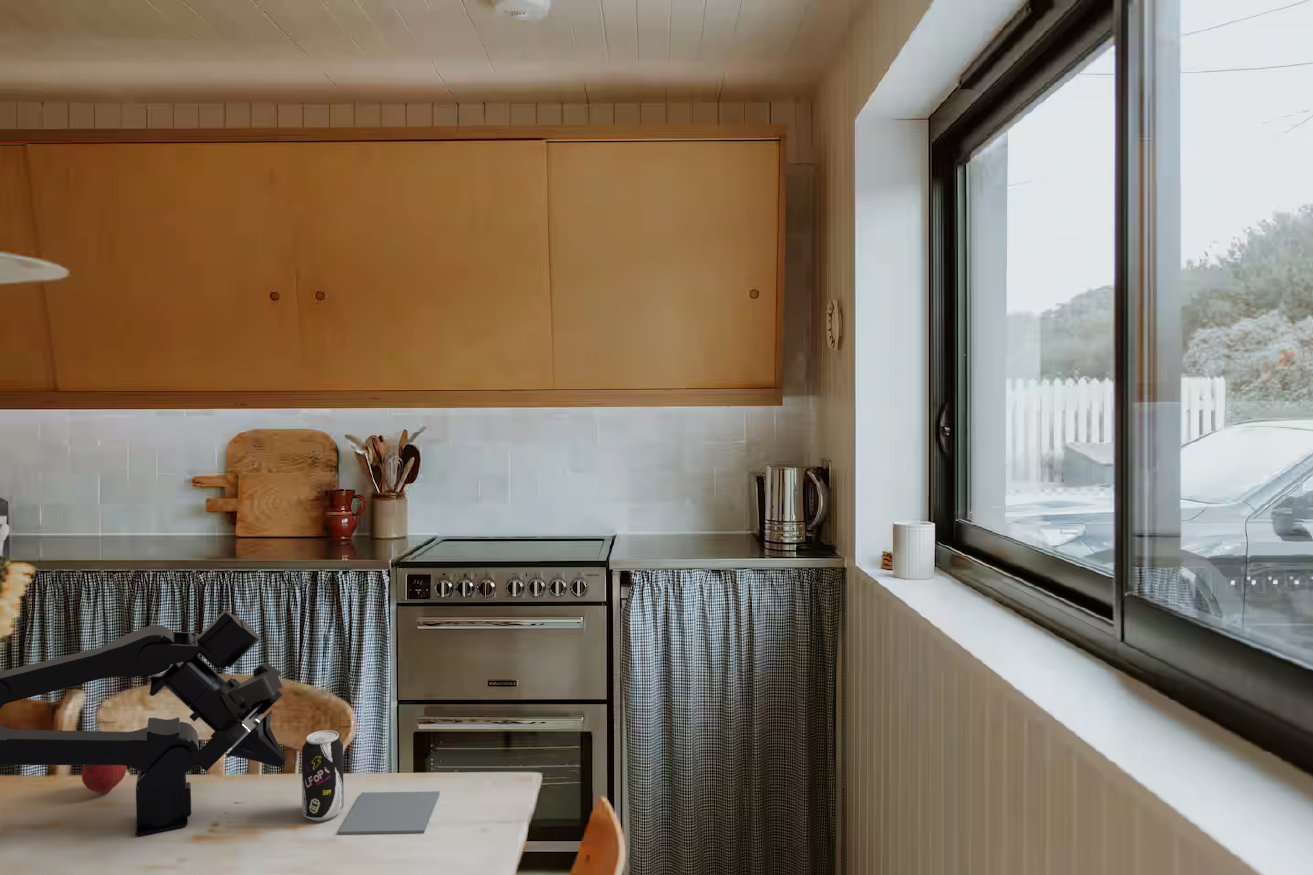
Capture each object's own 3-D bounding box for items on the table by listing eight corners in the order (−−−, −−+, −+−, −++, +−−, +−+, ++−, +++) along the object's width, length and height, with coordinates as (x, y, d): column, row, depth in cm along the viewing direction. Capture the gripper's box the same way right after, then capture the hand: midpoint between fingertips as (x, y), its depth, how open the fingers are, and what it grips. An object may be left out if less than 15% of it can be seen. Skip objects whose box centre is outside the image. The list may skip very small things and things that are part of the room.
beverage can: (296, 824, 126) (295, 743, 126) (310, 805, 132) (309, 728, 131) (336, 823, 127) (335, 743, 126) (348, 805, 132) (348, 728, 132)
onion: (105, 804, 131) (104, 752, 131) (72, 800, 132) (71, 749, 132) (135, 787, 137) (134, 737, 136) (104, 783, 138) (103, 734, 138)
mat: (338, 834, 124) (338, 831, 124) (361, 794, 136) (361, 792, 136) (424, 832, 124) (424, 830, 124) (439, 793, 136) (439, 791, 136)
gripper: (218, 674, 118) (302, 751, 120) (268, 635, 137) (340, 702, 138) (159, 732, 118) (244, 809, 119) (217, 685, 136) (290, 752, 138)
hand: (283, 763), depth 129 cm, fingers closed
